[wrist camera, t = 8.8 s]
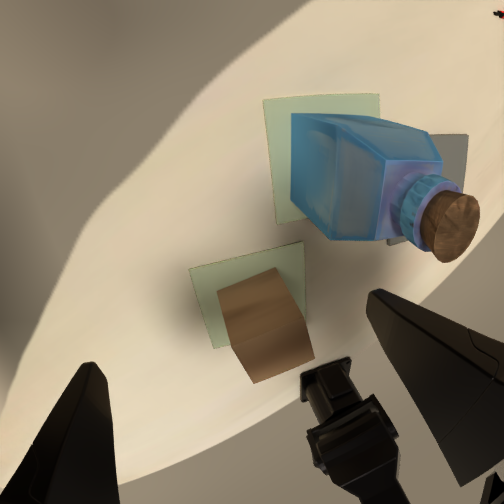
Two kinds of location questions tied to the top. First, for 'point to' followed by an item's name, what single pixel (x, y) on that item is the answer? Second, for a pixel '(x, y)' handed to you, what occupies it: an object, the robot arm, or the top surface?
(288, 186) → the code mat
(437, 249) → the perfume bottle
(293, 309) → the walnut block
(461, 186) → the slate coaster
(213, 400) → the top surface
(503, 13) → the pen
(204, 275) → the code mat
